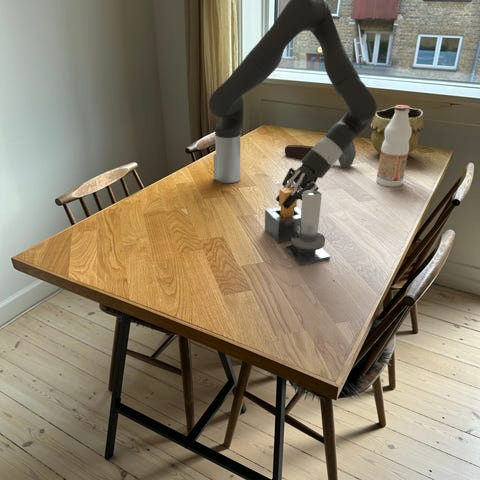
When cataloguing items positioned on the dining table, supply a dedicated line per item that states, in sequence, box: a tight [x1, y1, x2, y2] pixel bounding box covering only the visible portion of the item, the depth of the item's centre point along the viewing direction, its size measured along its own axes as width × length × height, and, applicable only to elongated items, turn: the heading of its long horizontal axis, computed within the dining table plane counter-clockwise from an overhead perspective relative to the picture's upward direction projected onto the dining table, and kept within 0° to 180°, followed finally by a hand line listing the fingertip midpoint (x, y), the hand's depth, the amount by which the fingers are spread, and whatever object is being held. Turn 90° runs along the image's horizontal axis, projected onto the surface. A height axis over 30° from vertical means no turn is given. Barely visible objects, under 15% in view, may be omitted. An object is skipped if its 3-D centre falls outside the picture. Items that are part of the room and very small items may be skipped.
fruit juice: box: [376, 104, 412, 188], centre depth 158 cm, size 9×9×28 cm
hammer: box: [284, 140, 357, 169], centre depth 183 cm, size 5×11×30 cm
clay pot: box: [370, 106, 424, 155], centre depth 185 cm, size 21×21×20 cm
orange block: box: [278, 186, 298, 218], centre depth 125 cm, size 3×4×8 cm
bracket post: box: [264, 190, 331, 267], centre depth 120 cm, size 21×10×18 cm, turn 22°
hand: (281, 204), depth 124 cm, fingers closed on orange block, 3 cm apart
